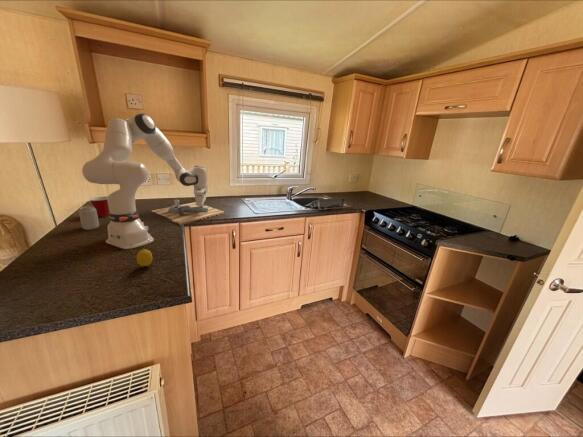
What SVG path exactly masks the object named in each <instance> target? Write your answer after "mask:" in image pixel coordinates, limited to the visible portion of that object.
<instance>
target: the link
mask: <svg viewBox="0 0 583 437" xmlns="http://www.w3.org/2000/svg"><path fill="white" fill-rule="evenodd" d="M169 207H170V208H169V213H179V210H178V208H175V204H174V205H173V204H172V205H171V206H169ZM180 207H182V206H180ZM184 211H187V212H208V207H190V209H187V210H183V212H184Z"/></svg>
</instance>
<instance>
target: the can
mask: <svg viewBox="0 0 583 437" xmlns="http://www.w3.org/2000/svg"><path fill="white" fill-rule="evenodd" d="M78 215H79V216H78V217H79V221H80V223H81V224H80V225H81V228H82V229H83V230H87V231H90V230H96V229H98V228H99V227H100V221H99V217H98V215H97V211H96V209H95V208H94V206H93V205H86V206H81V207H79V210H78Z"/></svg>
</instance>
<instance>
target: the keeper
mask: <svg viewBox="0 0 583 437" xmlns="http://www.w3.org/2000/svg"><path fill="white" fill-rule="evenodd" d="M187 209H190V206H182V207H178V210H179V215H184V212H183V210H187Z"/></svg>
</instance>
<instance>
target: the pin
mask: <svg viewBox="0 0 583 437" xmlns="http://www.w3.org/2000/svg"><path fill="white" fill-rule="evenodd" d="M173 201H174V205H175V208H178V207H180V205H181V204H180V199H178V198H177V199H176V198H175V199H174V200H173Z"/></svg>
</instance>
